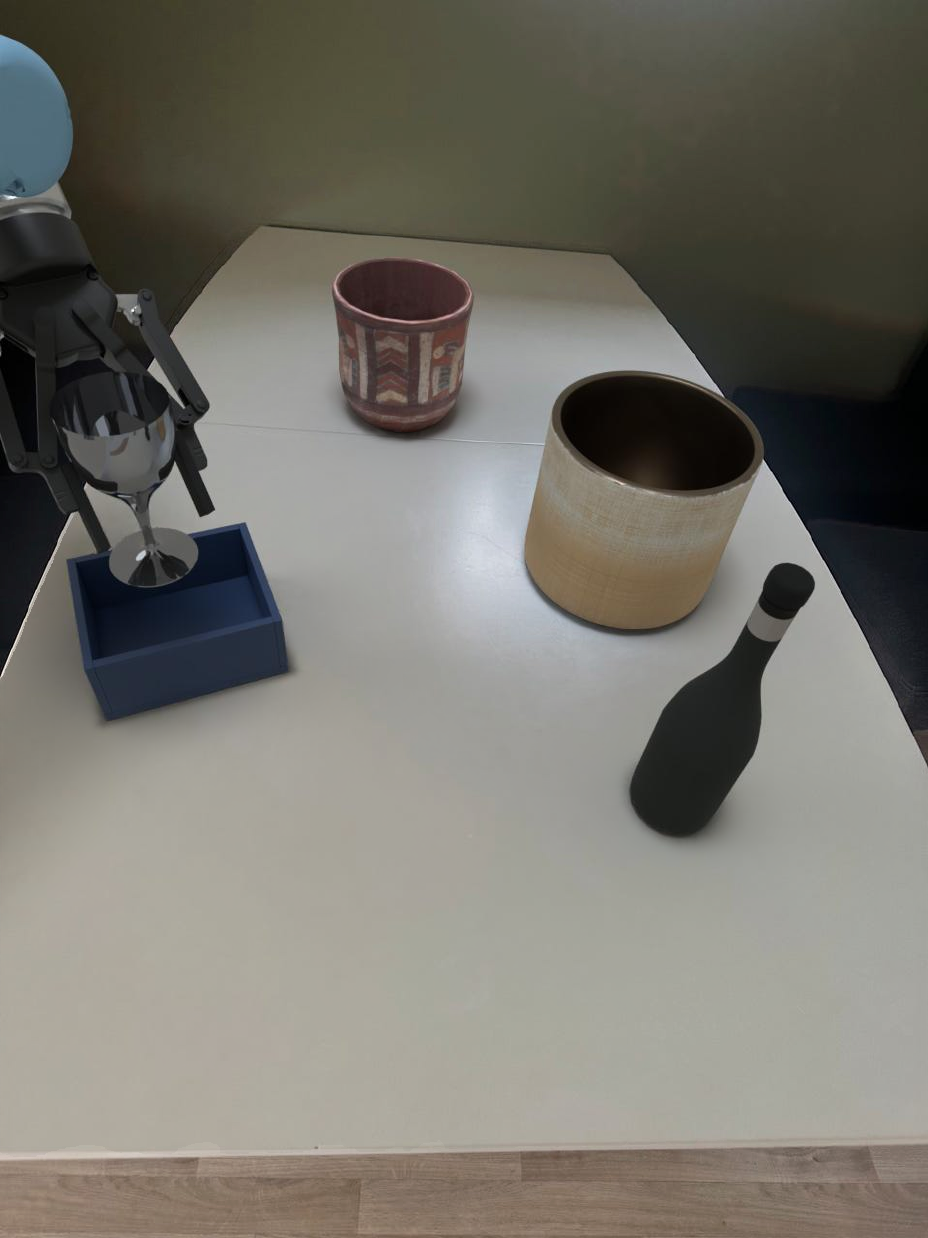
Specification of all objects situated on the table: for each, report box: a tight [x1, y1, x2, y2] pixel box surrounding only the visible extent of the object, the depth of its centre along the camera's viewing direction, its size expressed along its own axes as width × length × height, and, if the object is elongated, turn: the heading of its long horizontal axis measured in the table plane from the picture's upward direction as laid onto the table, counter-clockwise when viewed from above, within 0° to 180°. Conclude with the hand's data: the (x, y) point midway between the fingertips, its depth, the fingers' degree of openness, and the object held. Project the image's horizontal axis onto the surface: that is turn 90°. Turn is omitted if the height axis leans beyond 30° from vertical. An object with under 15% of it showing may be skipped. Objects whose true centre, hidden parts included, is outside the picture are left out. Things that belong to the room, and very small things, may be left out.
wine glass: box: [49, 371, 198, 587], centre depth 61 cm, size 8×8×15 cm
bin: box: [65, 521, 290, 722], centre depth 80 cm, size 18×15×8 cm
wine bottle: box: [630, 562, 816, 835], centre depth 64 cm, size 8×8×30 cm
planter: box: [524, 369, 765, 630], centre depth 88 cm, size 22×22×20 cm
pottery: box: [331, 257, 475, 433], centre depth 107 cm, size 18×18×18 cm
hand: (157, 531), depth 61 cm, fingers closed on wine glass, 7 cm apart
